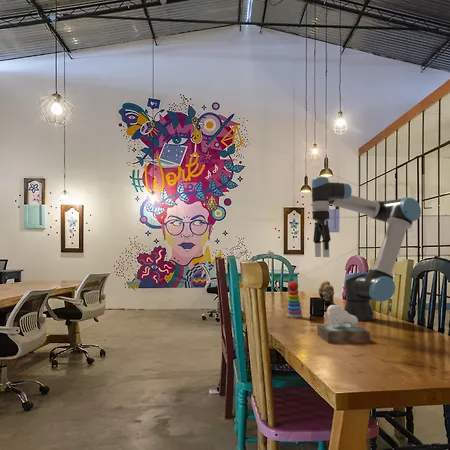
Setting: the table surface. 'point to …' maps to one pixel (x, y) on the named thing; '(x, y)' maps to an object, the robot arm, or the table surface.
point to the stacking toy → (294, 301)
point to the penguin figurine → (340, 316)
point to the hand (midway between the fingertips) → (321, 257)
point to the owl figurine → (327, 293)
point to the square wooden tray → (343, 333)
